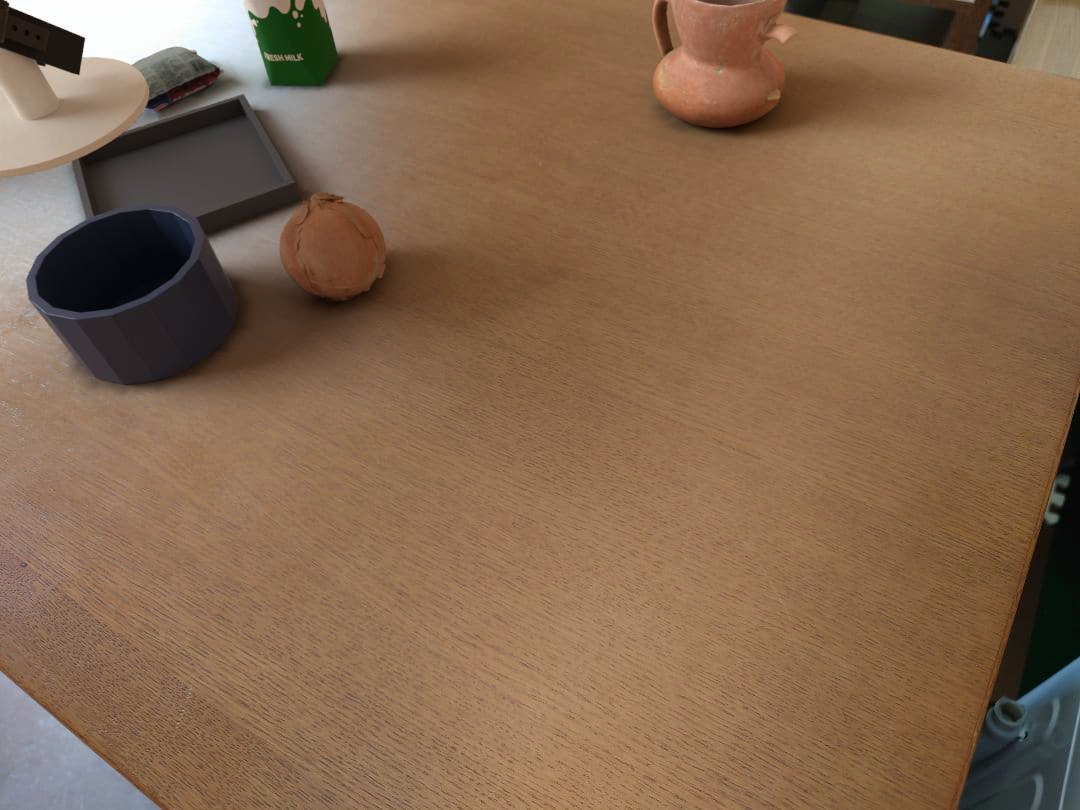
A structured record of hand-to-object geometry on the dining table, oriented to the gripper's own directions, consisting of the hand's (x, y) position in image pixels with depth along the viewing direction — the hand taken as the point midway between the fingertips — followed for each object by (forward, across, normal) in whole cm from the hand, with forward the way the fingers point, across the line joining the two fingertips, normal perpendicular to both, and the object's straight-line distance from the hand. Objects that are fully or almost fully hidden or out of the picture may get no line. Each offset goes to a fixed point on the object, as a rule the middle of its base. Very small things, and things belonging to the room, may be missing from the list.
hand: (61, 51), depth 58 cm
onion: (+21, -15, +12) cm, 28 cm away
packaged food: (+36, +29, -3) cm, 46 cm away
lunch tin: (+12, -2, +21) cm, 24 cm away
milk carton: (+43, +15, -10) cm, 46 cm away
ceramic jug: (+50, -37, -17) cm, 65 cm away
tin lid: (0, 0, +5) cm, 5 cm away
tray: (+25, +12, +8) cm, 29 cm away
